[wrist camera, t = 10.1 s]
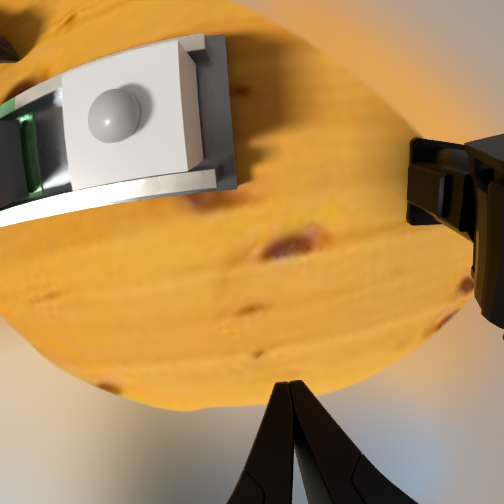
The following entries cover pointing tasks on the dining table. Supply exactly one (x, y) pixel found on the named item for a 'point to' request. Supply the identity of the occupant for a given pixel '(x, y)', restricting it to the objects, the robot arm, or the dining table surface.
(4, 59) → the hand tool
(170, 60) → the knobbed white cube
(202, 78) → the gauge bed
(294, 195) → the dining table surface
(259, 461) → the robot arm
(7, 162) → the white flat block
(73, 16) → the dining table surface
